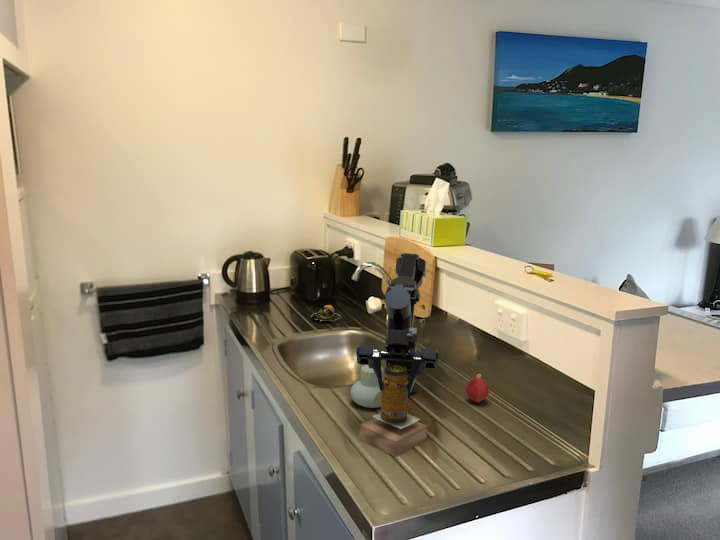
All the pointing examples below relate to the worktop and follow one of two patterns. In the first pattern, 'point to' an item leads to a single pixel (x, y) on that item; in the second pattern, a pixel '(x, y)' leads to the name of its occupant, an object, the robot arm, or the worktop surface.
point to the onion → (477, 389)
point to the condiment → (395, 398)
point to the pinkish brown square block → (392, 436)
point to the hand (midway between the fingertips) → (395, 391)
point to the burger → (327, 313)
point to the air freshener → (367, 389)
